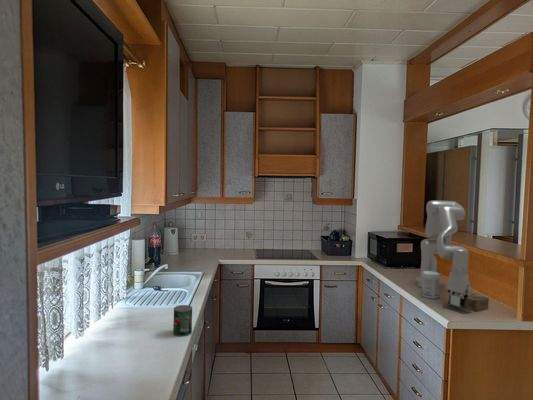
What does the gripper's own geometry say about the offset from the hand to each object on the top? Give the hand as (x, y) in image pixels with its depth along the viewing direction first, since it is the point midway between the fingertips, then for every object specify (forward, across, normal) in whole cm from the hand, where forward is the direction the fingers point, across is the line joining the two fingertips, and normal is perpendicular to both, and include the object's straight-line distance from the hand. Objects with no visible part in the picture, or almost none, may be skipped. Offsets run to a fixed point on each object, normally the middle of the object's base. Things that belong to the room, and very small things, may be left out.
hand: (457, 303), depth 216 cm
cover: (+1, 0, 0) cm, 1 cm away
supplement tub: (+4, -22, +8) cm, 24 cm away
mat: (+3, 0, 0) cm, 3 cm away
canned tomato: (+4, -38, -142) cm, 148 cm away
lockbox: (+3, -1, +13) cm, 13 cm away
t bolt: (-3, -5, +17) cm, 18 cm away
